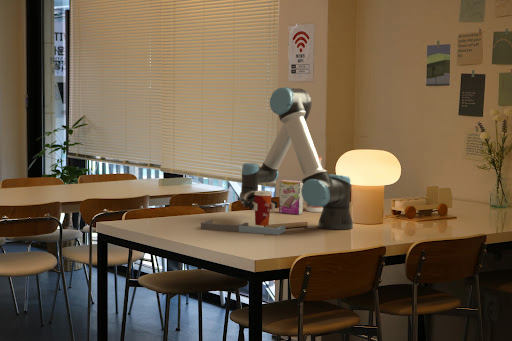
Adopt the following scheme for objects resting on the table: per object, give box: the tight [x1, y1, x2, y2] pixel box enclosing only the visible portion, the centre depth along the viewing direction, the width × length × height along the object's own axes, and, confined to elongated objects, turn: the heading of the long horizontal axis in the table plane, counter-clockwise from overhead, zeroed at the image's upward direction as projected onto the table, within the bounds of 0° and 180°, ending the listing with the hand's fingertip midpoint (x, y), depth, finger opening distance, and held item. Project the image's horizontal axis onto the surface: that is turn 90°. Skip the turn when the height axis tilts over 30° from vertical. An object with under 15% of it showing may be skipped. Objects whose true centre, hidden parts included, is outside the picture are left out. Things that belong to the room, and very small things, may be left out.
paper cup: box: [254, 190, 273, 227], centre depth 310 cm, size 8×8×14 cm
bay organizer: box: [200, 219, 286, 236], centre depth 311 cm, size 34×11×2 cm, turn 72°
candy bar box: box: [278, 179, 304, 216], centre depth 368 cm, size 11×5×16 cm, turn 62°
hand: (265, 207), depth 305 cm, fingers closed on paper cup, 7 cm apart
